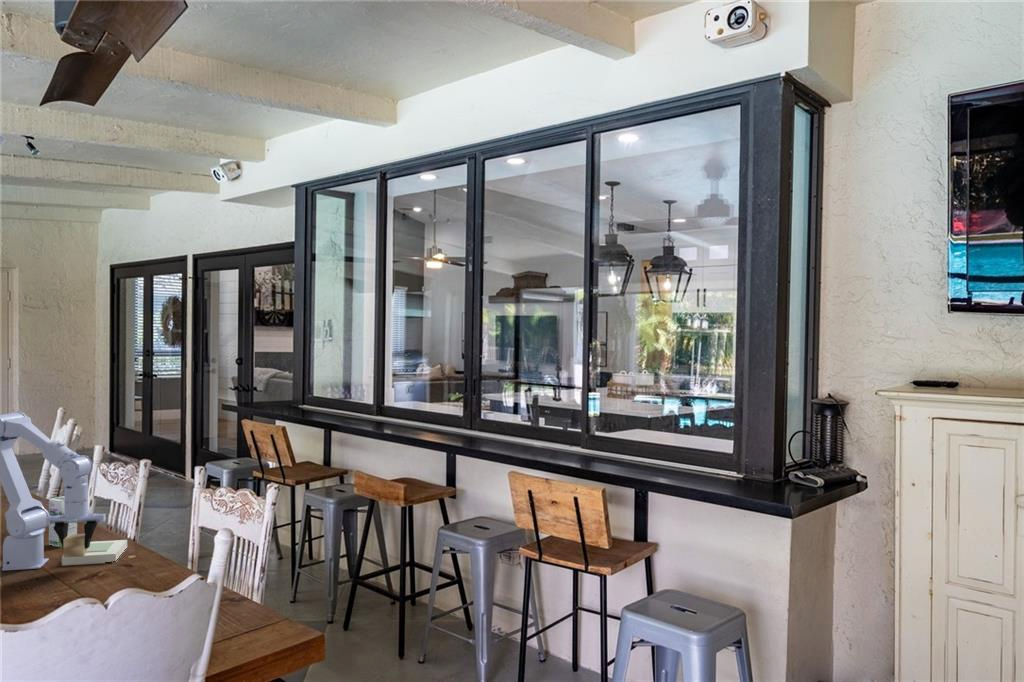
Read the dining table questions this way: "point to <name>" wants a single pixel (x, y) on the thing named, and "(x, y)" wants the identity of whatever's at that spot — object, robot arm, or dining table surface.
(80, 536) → the birch block
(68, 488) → the robot arm
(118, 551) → the base plinth
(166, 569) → the dining table surface
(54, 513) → the syrup box
